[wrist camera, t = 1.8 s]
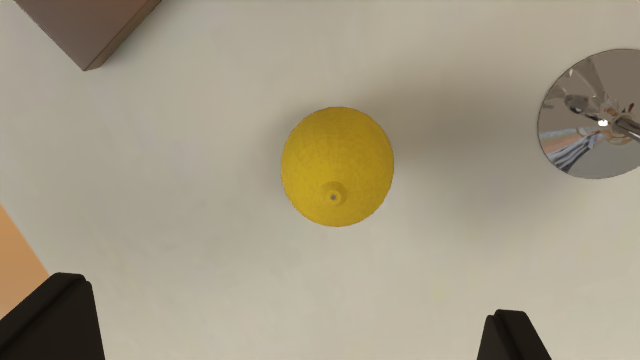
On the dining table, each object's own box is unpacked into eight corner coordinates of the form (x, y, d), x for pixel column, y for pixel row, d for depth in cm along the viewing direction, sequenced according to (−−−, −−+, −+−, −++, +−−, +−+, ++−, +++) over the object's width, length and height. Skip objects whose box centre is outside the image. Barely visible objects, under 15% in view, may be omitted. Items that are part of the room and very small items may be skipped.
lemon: (394, 178, 26) (407, 248, 18) (303, 190, 27) (281, 262, 19) (382, 85, 24) (392, 122, 16) (284, 101, 25) (252, 143, 17)
